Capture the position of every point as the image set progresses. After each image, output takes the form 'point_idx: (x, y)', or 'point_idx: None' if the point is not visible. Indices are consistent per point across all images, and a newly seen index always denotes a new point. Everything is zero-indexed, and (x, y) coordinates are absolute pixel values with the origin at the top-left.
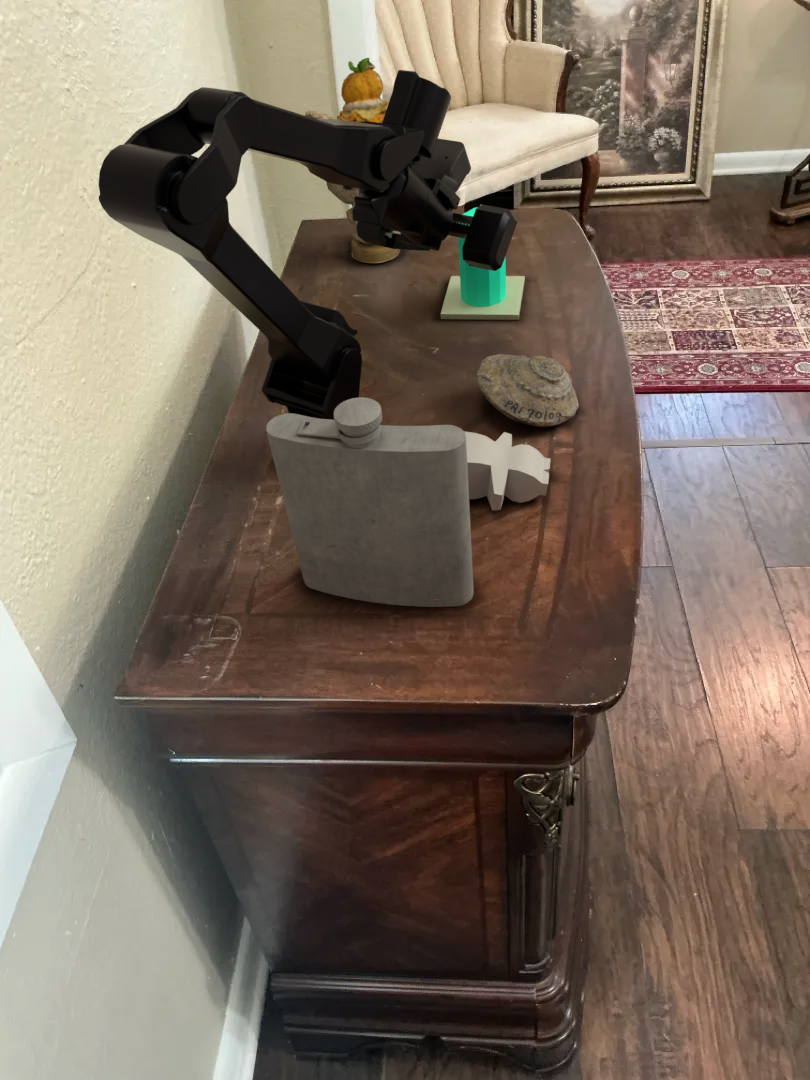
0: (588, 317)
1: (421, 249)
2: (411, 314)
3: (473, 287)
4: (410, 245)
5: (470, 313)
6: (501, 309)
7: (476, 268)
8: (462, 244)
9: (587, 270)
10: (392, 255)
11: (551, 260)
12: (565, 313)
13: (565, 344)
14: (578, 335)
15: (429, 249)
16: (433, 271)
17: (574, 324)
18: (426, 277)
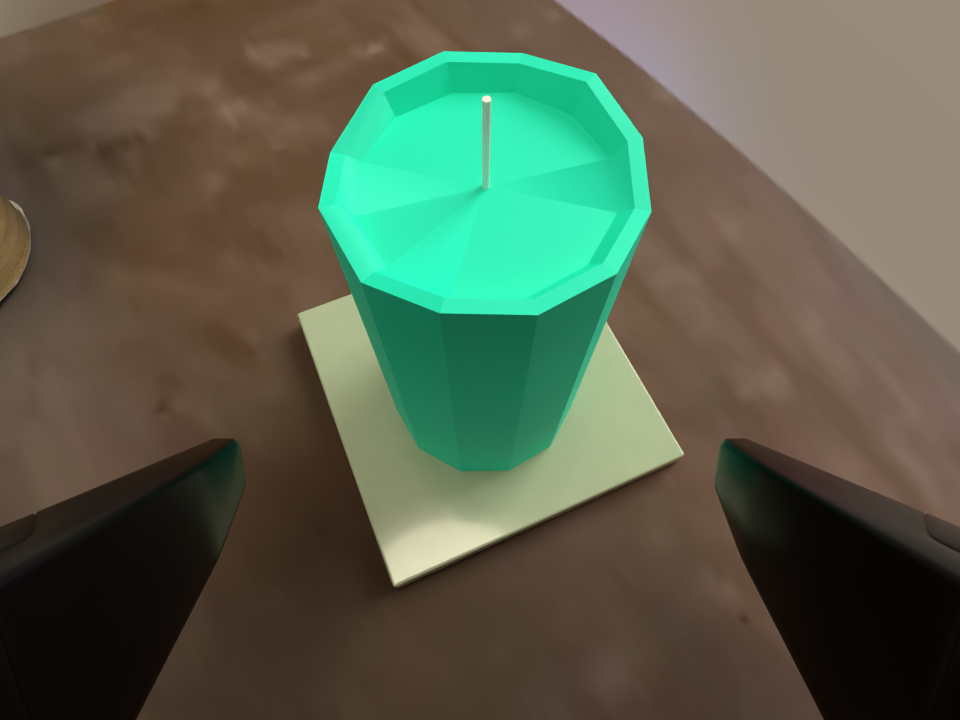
0: (868, 345)
1: (205, 580)
2: (258, 607)
3: (494, 448)
4: (115, 715)
5: (509, 528)
6: (604, 449)
7: (519, 416)
8: (424, 362)
9: (681, 119)
10: (9, 269)
11: None
12: (787, 353)
13: None
14: (923, 462)
15: (242, 488)
16: (208, 291)
17: (860, 403)
18: (199, 335)
